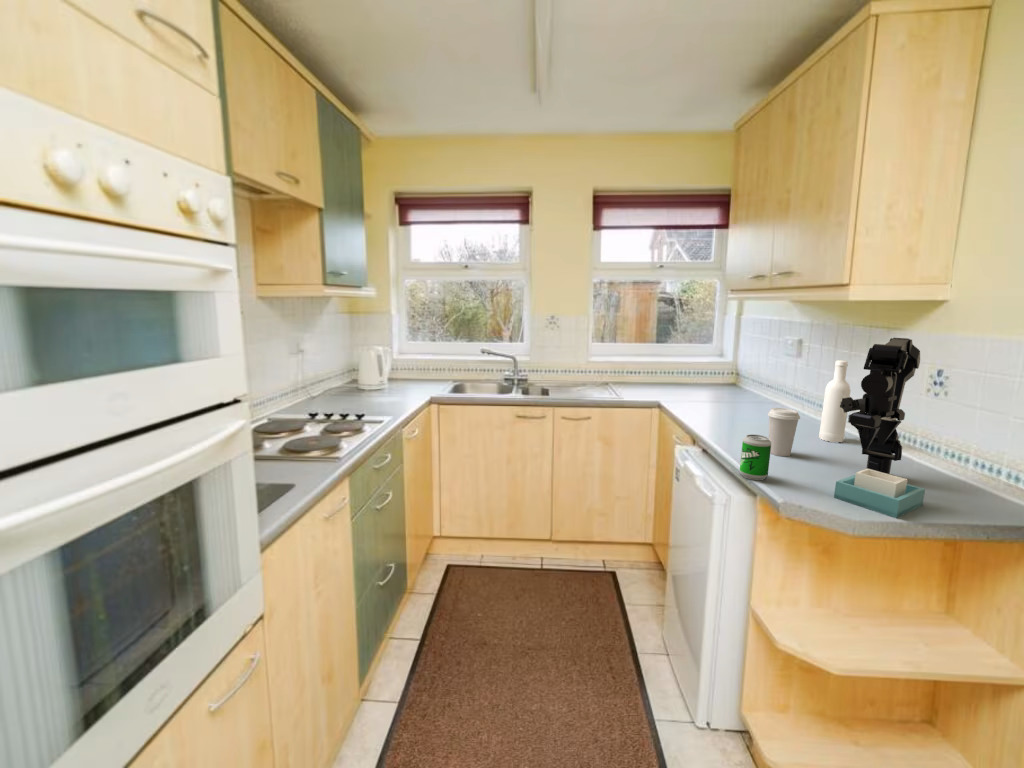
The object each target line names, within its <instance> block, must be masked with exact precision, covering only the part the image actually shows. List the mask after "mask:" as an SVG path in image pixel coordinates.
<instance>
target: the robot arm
mask: <svg viewBox="0 0 1024 768" xmlns="http://www.w3.org/2000/svg"><path fill="white" fill-rule="evenodd" d="M920 364H921V350H920V349H919V348H917V346H915V345H914V344H913V339H910V338H907V337H893V338H892V337H891V338H890V339H889V341H888V342H887V343H885V344H883V343H882V344H880V343H874V344H873V345H872V347H870V348H869V349H868V352H867V356H866V359H865V363H864V366H863V370H868V371H869V374H867V375H865V376H864V377H863V378H862V379H861V382H860V387H861V389H862V391H863V392H864V394H862V397H861V398H856V399H853V397H852V396H850V397H848V398H843V399H842V402H841V405H840V407H841V408H842V409H843V410H844V413H845V412H847V413H849V412H853V411H856V412H853V413H851V414H849V415H848V421H847V423H848V424H850V425H851V426H853V427H854V428H855V429H857V432H858V436H859V441H860V445H861V455H866V456H867V460H866V461H867V463H866V467H865V469H871V470H875V471H879V472H882V473H886V474H890V475H892V474H891V469H892V462H893V461H894V462H895V461H902V457H903V456H902V454H903V445H902V444H901V440H900V439H899V438H900V437H899V433H898V430H897V428H898V426H899V425H900V424H901V423H902V421H904V420H905V417H906V413H905V411H904V410H903V409H900V406H901V403H902V398H903V394H904V391H905V390H904V389H905V385H906V383H907V382H908V381H909V380H910V379H912V378H913V377H914V376H915V372H916V369H919V367H920Z"/></svg>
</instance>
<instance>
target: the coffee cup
mask: <svg viewBox="0 0 1024 768" xmlns="http://www.w3.org/2000/svg"><path fill="white" fill-rule="evenodd" d="M767 416H768V418H769V419H768V438H769V440H770V441H771V452H770V453H771V454H770V455H774V456H777V457H790V456H791V453H792V448H793V444H794V440H795V435H796V432H797V427H798V422H799V420H801V416H800V414H799V411H798V410H796V409H795V410H794V409H791V408H784V407H772V408H771V409H770V411H768V413H767Z"/></svg>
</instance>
